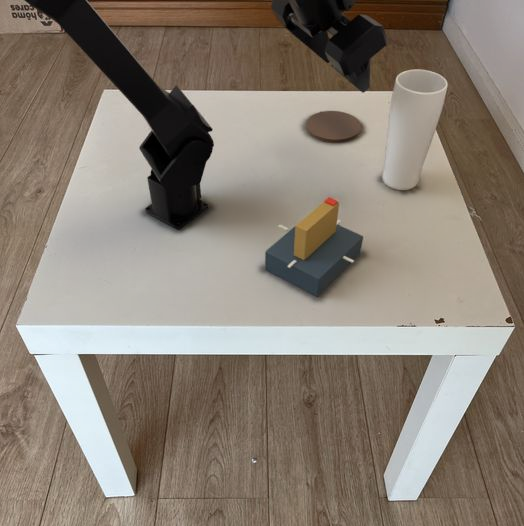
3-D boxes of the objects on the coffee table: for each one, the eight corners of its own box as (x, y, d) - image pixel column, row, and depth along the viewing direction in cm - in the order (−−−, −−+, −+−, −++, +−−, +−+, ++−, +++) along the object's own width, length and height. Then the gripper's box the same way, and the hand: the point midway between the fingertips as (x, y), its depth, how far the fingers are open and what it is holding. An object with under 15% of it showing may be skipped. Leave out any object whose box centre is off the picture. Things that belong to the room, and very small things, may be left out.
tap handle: (304, 260, 70) (306, 229, 67) (293, 255, 71) (295, 224, 67) (335, 231, 74) (340, 200, 70) (325, 226, 75) (328, 195, 71)
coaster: (341, 149, 92) (341, 145, 91) (295, 130, 95) (295, 126, 95) (371, 125, 96) (371, 122, 96) (325, 108, 100) (326, 105, 99)
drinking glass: (385, 163, 89) (405, 64, 78) (428, 176, 87) (455, 75, 76) (369, 186, 85) (387, 85, 74) (414, 200, 83) (439, 98, 72)
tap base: (325, 305, 70) (327, 286, 67) (252, 266, 74) (251, 247, 72) (373, 256, 76) (377, 237, 73) (302, 223, 80) (304, 204, 77)
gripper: (409, -59, 59) (439, 63, 72) (319, -105, 70) (359, 8, 82) (321, 17, 60) (366, 122, 73) (246, -40, 71) (296, 61, 84)
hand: (347, 74), depth 78 cm, fingers open, 9 cm apart
